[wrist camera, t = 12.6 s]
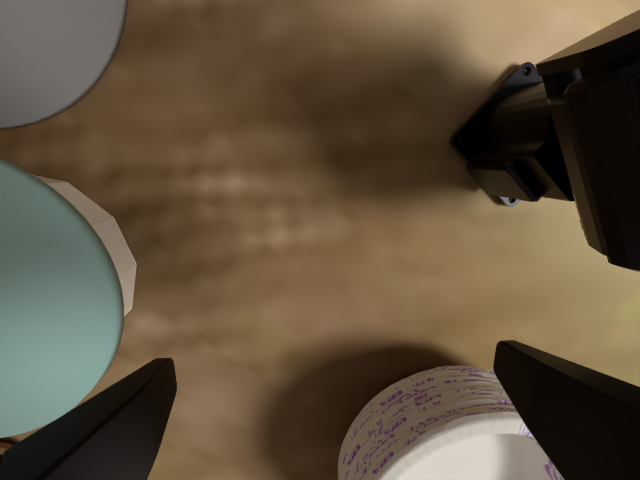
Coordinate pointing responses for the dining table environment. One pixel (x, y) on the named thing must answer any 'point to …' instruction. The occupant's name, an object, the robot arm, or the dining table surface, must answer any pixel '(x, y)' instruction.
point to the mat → (53, 54)
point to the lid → (51, 304)
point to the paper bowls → (443, 432)
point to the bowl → (103, 236)
